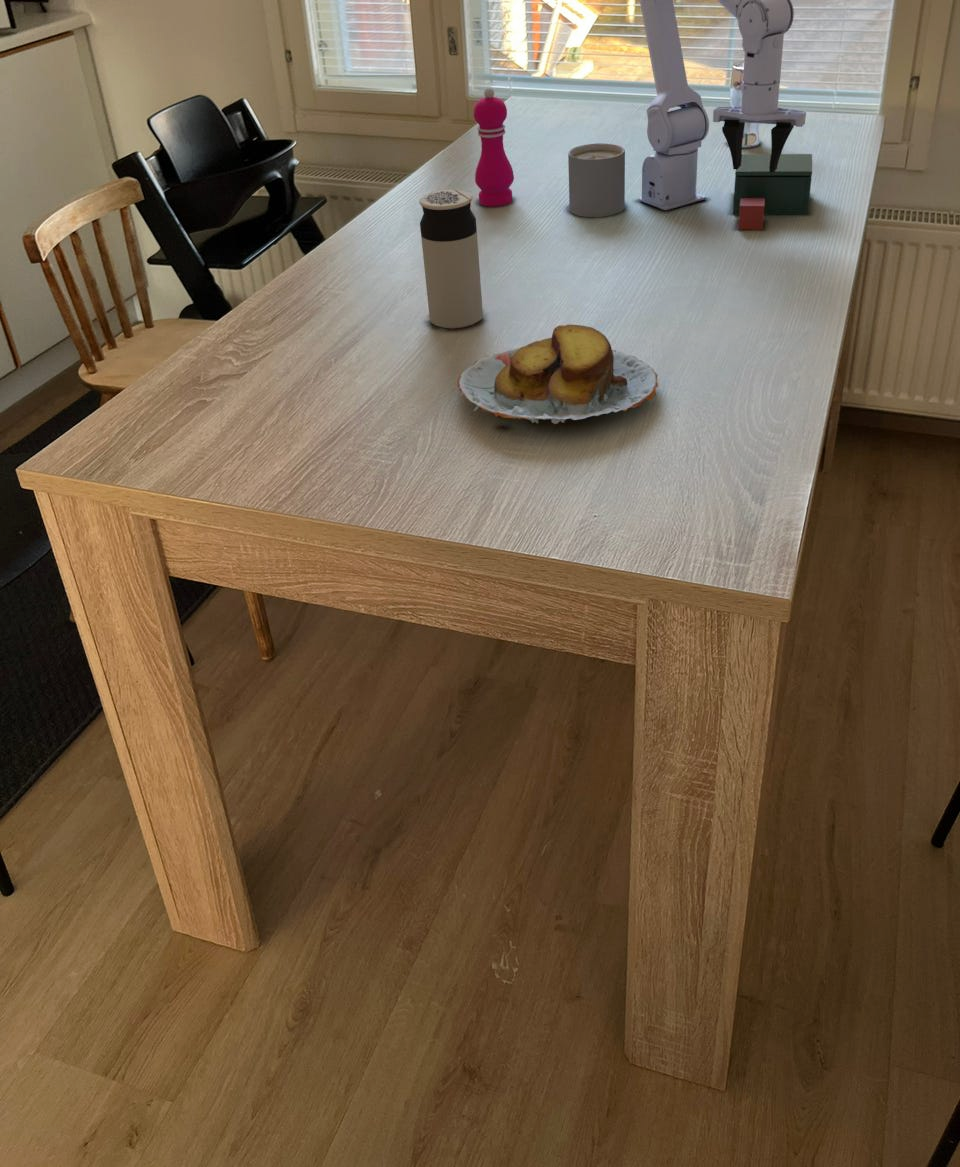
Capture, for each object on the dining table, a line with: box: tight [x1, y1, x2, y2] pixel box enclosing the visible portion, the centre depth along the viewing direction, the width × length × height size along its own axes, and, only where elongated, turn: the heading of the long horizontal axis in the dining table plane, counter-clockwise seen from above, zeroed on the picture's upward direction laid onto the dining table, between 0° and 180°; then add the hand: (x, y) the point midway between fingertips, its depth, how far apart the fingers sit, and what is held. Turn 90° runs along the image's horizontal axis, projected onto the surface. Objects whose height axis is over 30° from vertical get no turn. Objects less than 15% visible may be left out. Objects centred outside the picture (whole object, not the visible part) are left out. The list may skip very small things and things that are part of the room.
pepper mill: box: [473, 87, 515, 208], centre depth 205 cm, size 7×7×20 cm
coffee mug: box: [567, 142, 626, 218], centre depth 202 cm, size 13×10×10 cm
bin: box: [732, 175, 813, 216], centre depth 197 cm, size 11×13×6 cm
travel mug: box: [418, 189, 484, 330], centre depth 162 cm, size 8×8×18 cm
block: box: [737, 198, 765, 231], centre depth 190 cm, size 4×4×4 cm
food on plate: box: [457, 324, 659, 428], centre depth 143 cm, size 25×25×7 cm
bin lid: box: [734, 153, 813, 177], centre depth 194 cm, size 11×13×1 cm
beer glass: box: [729, 61, 761, 149], centre depth 225 cm, size 7×7×15 cm
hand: (754, 169), depth 185 cm, fingers open, 5 cm apart
